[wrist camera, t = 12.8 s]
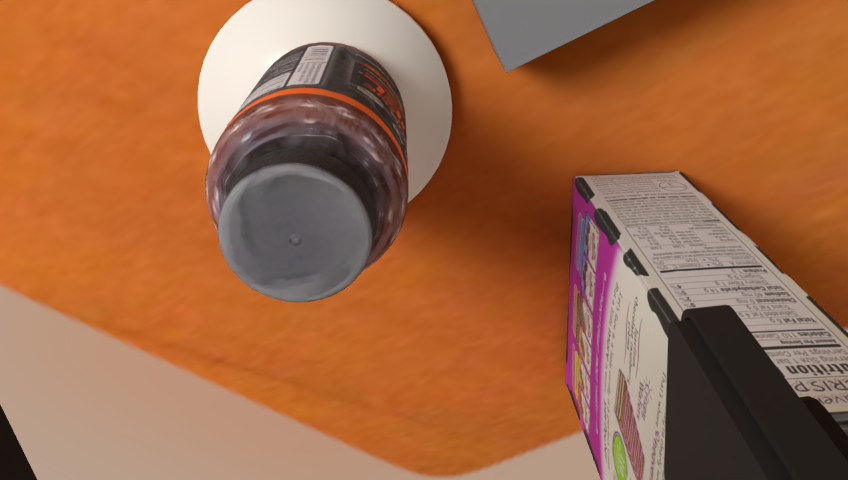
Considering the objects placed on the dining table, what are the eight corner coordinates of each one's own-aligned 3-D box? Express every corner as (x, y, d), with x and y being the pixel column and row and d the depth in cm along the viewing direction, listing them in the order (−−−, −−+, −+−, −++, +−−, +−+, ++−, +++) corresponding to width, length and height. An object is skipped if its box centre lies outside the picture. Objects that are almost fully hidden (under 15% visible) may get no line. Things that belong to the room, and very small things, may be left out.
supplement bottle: (432, 141, 29) (453, 281, 19) (307, 207, 30) (264, 372, 20) (357, 7, 27) (335, 85, 17) (223, 83, 28) (127, 200, 18)
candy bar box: (663, 374, 36) (849, 720, 21) (562, 381, 36) (678, 732, 21) (687, 161, 31) (953, 420, 16) (570, 169, 31) (728, 435, 16)
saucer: (490, 161, 30) (492, 167, 30) (285, 258, 32) (283, 264, 32) (379, -70, 26) (378, -69, 26) (150, 54, 28) (145, 58, 27)
